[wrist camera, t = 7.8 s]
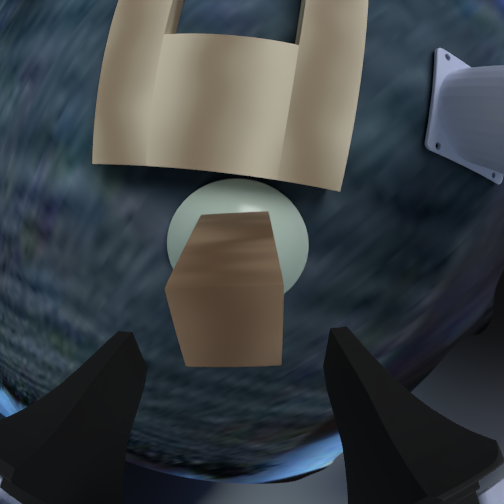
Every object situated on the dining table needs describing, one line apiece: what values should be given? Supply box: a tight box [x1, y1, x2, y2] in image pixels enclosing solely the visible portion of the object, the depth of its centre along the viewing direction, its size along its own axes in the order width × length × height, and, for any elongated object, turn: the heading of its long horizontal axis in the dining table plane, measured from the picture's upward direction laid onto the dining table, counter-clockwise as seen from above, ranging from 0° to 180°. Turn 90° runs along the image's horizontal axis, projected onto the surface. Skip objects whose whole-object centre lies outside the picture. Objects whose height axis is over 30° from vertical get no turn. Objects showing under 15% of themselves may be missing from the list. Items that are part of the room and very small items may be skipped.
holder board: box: [92, 0, 368, 192], centre depth 11 cm, size 14×16×2 cm
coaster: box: [167, 178, 309, 293], centre depth 17 cm, size 9×9×1 cm
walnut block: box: [165, 211, 284, 367], centre depth 13 cm, size 4×4×8 cm
